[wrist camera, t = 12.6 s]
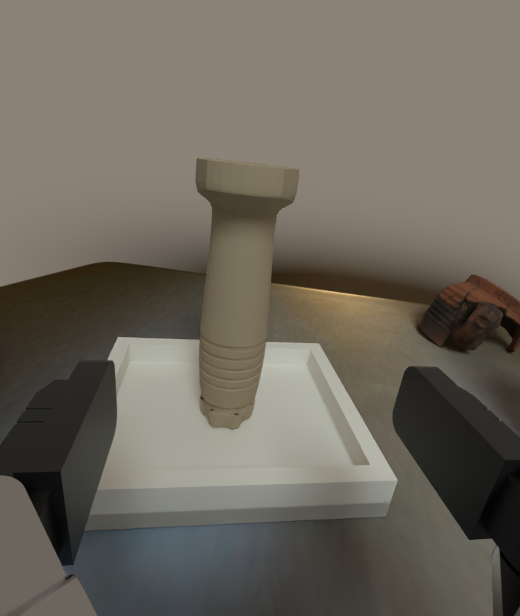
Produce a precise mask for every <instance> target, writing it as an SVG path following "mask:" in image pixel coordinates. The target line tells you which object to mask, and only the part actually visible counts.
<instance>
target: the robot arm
mask: <svg viewBox="0 0 520 616" xmlns="http://www.w3.org/2000/svg"><path fill="white" fill-rule="evenodd" d="M116 424H117V398H116V379H115V365H114V362H113V361H112V360H80V361H79V363H78V364H77V366H76V368H75V369H74V371H73V373H72V374H71V376H70V378H69V379H68V380H54V381H53V382H51V383H50V384H49V385H47V386H46V387H44V388H43V389H41V390H40V391H39V392H37V393H36V395H35V396H34V398H33V399H32V400H31V402H30V403H29V405H28V406H27V408H26V411H24V412H23V413H22V415H21V416H20V418H19V419H18V421H17V424H16V425H14V426H13V428H12V429H11V431H10V432H9V434H8V435H7V436H6V438H5V439H4V441H3V442H2V444H1V445H0V616H97V614H96V612H95V610H94V608H93V606H92V604H91V602H90V600H89V598H88V596H87V594H86V592H85V590H84V588H83V587H82V585H81V583H80V581H79V580H78V579H77V577H76V576H75V575H73V574H71V575H70V576H68V575H67V574H66V572H65V571H64V569H63V567H62V566H65V565H73V564H74V561H75V558H76V554H77V551H78V548H79V545H80V542H81V539H82V536H83V532H84V529H85V526H86V523H87V520H88V517H89V514H90V511H91V507H92V504H93V501H94V498H95V495H96V492H97V489H98V485H99V482H100V479H101V476H102V473H103V470H104V467H105V463H106V460H107V457H108V454H109V451H110V448H111V445H112V441H113V438H114V435H115V430H116ZM393 425H394V428H395V431H396V433H397V434H398V436H399V437H400V439H401V440H402V442H403V443H404V445H405V446H406V448H407V449H408V451H409V452H410V454H411V455H412V457H413V458H414V459H415V461H416V462H417V464H418V465H419V467H420V468H421V470H422V471H423V473H424V474H425V476H426V477H427V479H428V480H429V482H430V483H431V484H432V486H433V487H434V489H435V490H436V492H437V493H438V495H439V496H440V498H441V499H442V501H443V502H444V504H445V505H446V507H447V508H448V510H449V511H450V512H451V514H452V515H453V517H454V518H455V520H456V521H457V523H458V524H459V526H460V527H461V529H462V530H463V532H464V533H465V535H466V536H467V538H468V539H469V540H475V539H490V538H492V539H493V541H494V542H495V543H496V546H495V548H494V550H493V552H492V557H491V561H492V592H493V616H520V438H519V437H518V436H517V435H516V434H515V433H514V432H513V431H512V430H511V429H510V428H509V427H507V426H506V425H505V424H504V423H503V422H499V418H498V417H496V416H495V415H494V414H493V413H492V412H491V411H488V410H487V407H485V406H484V405H483V404H482V403H481V402H480V401H479V400H478V399H477V398H476V397H474V396H473V395H472V394H470V393H468V392H467V391H465V390H463V389H462V388H460V387H458V386H457V385H456V384H455V383H454V382H453V381H452V380H451V379H450V378H449V377H448V376H447V375H446V374H444V373H443V372H442V371H441V370H440V369H439V368H437V367H418V366H411V367H408V368H407V369H406V370H405V372H404V375H403V378H402V382H401V385H400V388H399V392H398V395H397V399H396V402H395V406H394V409H393Z"/></svg>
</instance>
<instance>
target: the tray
mask: <svg viewBox="0 0 520 616" xmlns="http://www.w3.org/2000/svg"><path fill="white" fill-rule="evenodd" d="M199 343H200V341H199V340H188V339H156V338H124V337H118V339H117V341H116V343H115V345H114V347H113V349H112V351H111V353H110V355H109V358H108V360H112V361H113V362H114V365H115V379H116V398H117V424H116V430H115V435H114V438H113V441H112V445H111V448H110V451H109V454H108V457H107V460H106V463H105V467H104V470H103V473H102V476H101V479H100V482H99V485H98V489H97V492H96V495H95V498H94V501H93V504H92V507H91V511H90V514H89V517H88V520H87V523H86V526H85V529H84V531H92V530H113V529H134V528H155V527H176V526H197V525H218V524H239V523H259V522H280V521H301V520H322V519H343V518H364V517H385V516H386V514H387V511H388V508H389V505H390V502H391V499H392V496H393V493H394V490H395V487H396V484H397V481H398V480H397V479H396V477H395V475H394V473H393V472H392V470H391V468H390V466H389V465H388V463H387V461H386V459H385V458H384V456H383V454H382V453H381V451H380V449H379V447H378V446H377V444H376V442H375V440H374V439H373V437H372V435H371V433H370V432H369V430H368V428H367V426H366V425H365V423H364V421H363V419H362V418H361V416H360V414H359V412H358V411H357V409H356V407H355V406H354V404H353V402H352V400H351V399H350V397H349V395H348V393H347V392H346V390H345V388H344V386H343V385H342V383H341V381H340V379H339V378H338V376H337V374H336V372H335V371H334V369H333V367H332V366H331V364H330V362H329V360H328V359H327V357H326V355H325V353H324V352H323V350H322V348H321V346H320V345H319V344H315V343H283V342H266V347H265V355H264V361H263V366H262V371H261V376H260V381H259V385H258V389H257V392H256V395H255V404H254V409H253V412H252V415H251V417H250V418H249V419H246V420H244V421H243V422H242V423H241V424H240V427H239V428H236V429H230V428H227V427H218V428H215V427H213V426H211V425H210V424H209V418H208V417H207V416H206V415H204V414H203V413H202V411H201V404H200V395H201V388H200V377H199Z"/></svg>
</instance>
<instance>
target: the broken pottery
mask: <svg viewBox="0 0 520 616" xmlns="http://www.w3.org/2000/svg"><path fill="white" fill-rule="evenodd" d="M464 302H466V303H465V305H467V306H468V308H467V310H460V309H461V307H462V305H463V303H464ZM499 325H501V326H502V327H504V328H505V329H506V330H507V331H508V333H509V335H510V336H511V337H512V338H513V340H512V342H511V344H510V345H509V347H508V351H509V352H515V351H516V349H517V348H518V347H519V346H520V302H519V301H518V300H517V299H515V298H514V297H513V296H511V295H510V294H509V293H508V292H506V291H505V290H503V289H502V288H500V287H499V286H497V285H495V284H493V283H492V282H490V281H488V280H487V279H484V278H482V277H480V276H477V275H471V276H470V277H469V278H468V279H467V280H466V281H465V282H460V283H457V284H453V285H451V286H448V287H446V289H444V290H442V291H441V294H440V295H438V296H437V297H436V298H435V299H434V302H432V303H431V306H430V307H429V308H428V309H427V311H425V313H424V314H423V318H422V319H421V322H420V323H419V324H418V327H419V328H420V329H421V331H422V332H423V333H424V334H425V335H426V336H427V337H428V338H429V339H431V340H432V341H433V342H434V343H435V344H437V345H438V346H439V347H442V346H443V345H444V343H445V341H446V339H447V338H449V336H450V335H451V334H452V338H453V341H454V343H455V344H456V345H457V346H458V347H459V348H463V349H468V350H475V349H476V348H477V347H478V346H479V345H481V343H482V342H483V340H484V339H485V338H486V336H487V335H490V334H491V333H492V332H493V331H494V330H495V329H496V328H498V327H499Z"/></svg>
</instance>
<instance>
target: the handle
mask: <svg viewBox="0 0 520 616" xmlns="http://www.w3.org/2000/svg"><path fill="white" fill-rule="evenodd" d="M298 178H299V169H295V168H288V167H281V166H274V165H266V164H257V163H249V162H240V161H231V160H221V159H210V158H197V163H196V186H197V190H198V192H199V193H200V194H201V195H202V196H203V197H205V198H206V199H207V200H208V201H209V202H210V203H211V206H212V224H211V225H212V226H211V236H210V246H209V255H208V264H207V273H206V282H205V291H204V299H203V308H202V316H201V325H200V340H199V341H200V343H199V377H200V388H201V395H200V404H201V411H202V413H203V414H204V415H206V416H207V417H208V418H209V424H210V425H211V426H213V427H215V428H218V427H227V428H230V429H236V428H239V427H240V424H241V423H242V422H243V421H244V420H246V419H249V418H250V417H251V415H252V412H253V409H254V404H255V395H256V392H257V389H258V385H259V381H260V376H261V371H262V366H263V361H264V355H265V347H266V340H267V332H268V317H269V301H270V285H271V271H272V256H273V243H274V231H275V224H276V217H277V214H278V212H279V211H280V210H281V209H282V208H284V207H286V206H288V205H290V204H292V203H293V201H294V199H295V195H296V192H297V186H298Z"/></svg>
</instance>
